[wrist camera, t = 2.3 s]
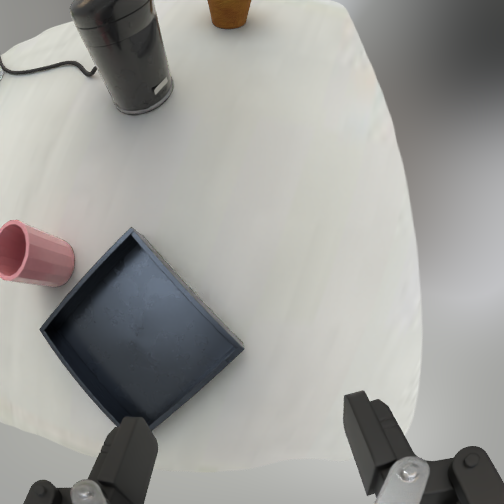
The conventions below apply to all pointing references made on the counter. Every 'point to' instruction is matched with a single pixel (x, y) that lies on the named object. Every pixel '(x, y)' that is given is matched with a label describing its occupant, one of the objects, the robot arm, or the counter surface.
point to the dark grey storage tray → (138, 335)
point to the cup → (34, 256)
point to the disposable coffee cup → (229, 13)
